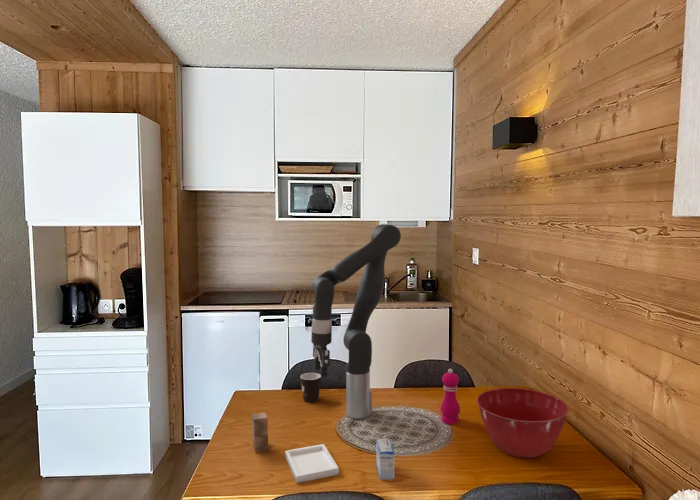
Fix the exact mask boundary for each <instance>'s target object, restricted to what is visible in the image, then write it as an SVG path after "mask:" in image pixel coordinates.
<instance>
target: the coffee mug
mask: <svg viewBox="0 0 700 500" xmlns="http://www.w3.org/2000/svg"><path fill="white" fill-rule="evenodd" d="M321 378H322V377H321V373H316V372H307V373H303V374H301V375H300V384H301V391H302V398H303V401H304V402H305V403H316V402H319V399H320V391H321Z"/></svg>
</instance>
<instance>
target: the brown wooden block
mask: <svg viewBox="0 0 700 500" xmlns="http://www.w3.org/2000/svg"><path fill="white" fill-rule="evenodd" d="M251 422H252V423H251V424H252V425H251V426H252V429H251V431H252V447H253V451H254V452H255V453H256V452H257V453H258V452H264V451H268V450H269V425H268V424H269V423H268V422H269V421H268V416H267V414H266V412H259V413H253V414H251Z"/></svg>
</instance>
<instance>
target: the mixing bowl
mask: <svg viewBox="0 0 700 500" xmlns="http://www.w3.org/2000/svg"><path fill="white" fill-rule="evenodd" d="M476 404H477V405H478V409H479V412H480V416H481V419H482V422H483V425H484V426H485V429H486V431H487V434H488V435H489V437H490V438H491V441H492V442H493V444H494V445H496V446H497V447H498V448H500V450H502V451H504V453H507V454H508V455H511V456H514V457H518V458H523V459H525V458H527V459H528V458H529V459H531V458H537V457H540V456H541V455H545V454H546V453H547V452H549V451H550V450H552V448H553V446H555V444H556V441H557V440H558V438H559V436H560V435H561V432H562V430H563V427H564V425H565V422H566V420H567V415H568V414H569V412H570V407H569V406H568V404H567V403H566V402H565V401H564V400H561V399H560V398H558V397H556V396H554V395H552V394H548V393H546V392H542V391H538V390H533V389H528V388H519V387H518V388H517V387H504V388H503V387H502V388H494V389H489V390H486V391H484V392H482V393H480V394H479V395H477V398H476Z"/></svg>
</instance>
